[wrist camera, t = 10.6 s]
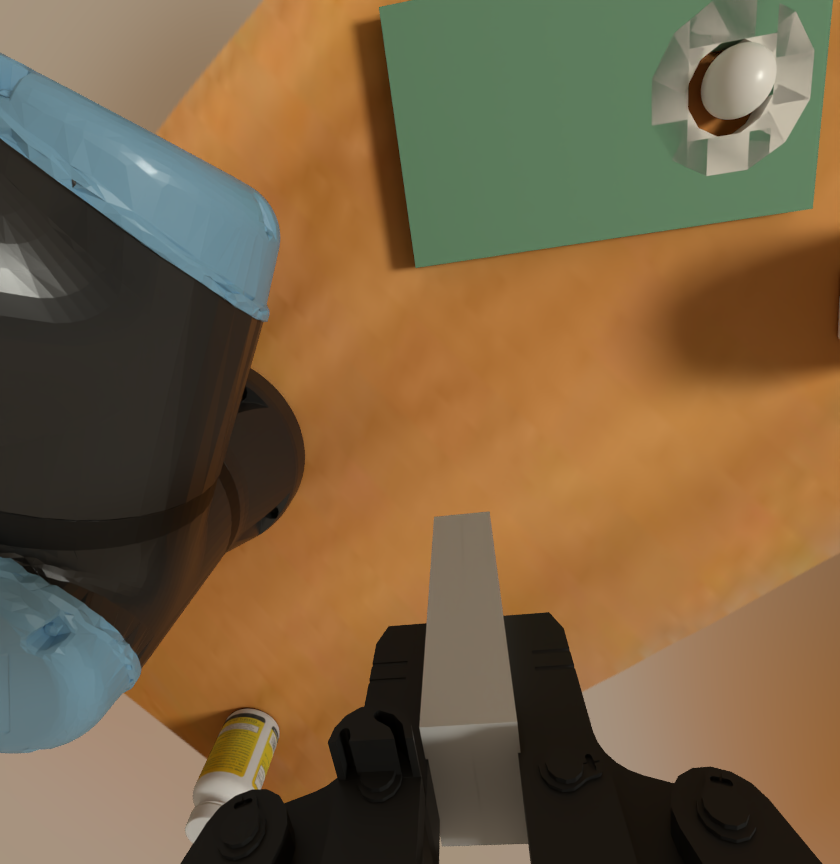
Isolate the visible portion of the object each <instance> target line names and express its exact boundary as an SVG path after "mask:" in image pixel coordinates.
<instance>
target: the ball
mask: <svg viewBox="0 0 840 864" xmlns="http://www.w3.org/2000/svg"><path fill="white" fill-rule="evenodd" d="M776 71H777V68H776V61H775V58H774V56H773V54H772V52H771V51H770V50H769V49H768V48H767V47H765V46H764V45H762V44H759V43H756V42H744V43H739V44H736V45H734V46H731V47H730V48H728V49H726V50H725V51H723V52H722V53H721V54H720V55H718V56H717V57H716V58H715V60H714V61H713V62H712V63H711V64H710V66H709V68H708V69H707V71H706V73H705V75H704V78H703V81H702V85H701V99H702V102H703V105H704V107H705V109H706V110H707V111H708V112H709V113H710V114H711V115H713V116H714V117H716V118H719V119H724V120H732V119H737V118H741V117H743V116H746V115H748V114H749V113H751V112H752V111H754V110H755V109H756V108H758V107H759V106H760V105H761V104H762V103H763V102H764V100H765V99H766V98H767V97H768V95H769V93H770V92H771V90H772V88H773V85H774V82H775V79H776Z"/></svg>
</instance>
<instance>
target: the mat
mask: <svg viewBox="0 0 840 864" xmlns="http://www.w3.org/2000/svg"><path fill="white" fill-rule="evenodd" d="M832 4H833V0H412V1H407V2H402V3H397V4H392V5H387V6H382V7H379V11H380V18H381V25H382V33H383V40H384V47H385V54H386V61H387V68H388V75H389V82H390V89H391V96H392V104H393V111H394V118H395V125H396V132H397V139H398V146H399V153H400V160H401V167H402V175H403V182H404V189H405V196H406V203H407V210H408V217H409V224H410V231H411V238H412V246H413V253H414V260H415V267H416V268H418V267H425V266H432V265H438V264H445V263H452V262H458V261H465V260H472V259H478V258H485V257H492V256H498V255H505V254H512V253H519V252H525V251H532V250H539V249H545V248H552V247H559V246H565V245H572V244H579V243H585V242H592V241H599V240H605V239H612V238H619V237H626V236H632V235H639V234H646V233H652V232H659V231H666V230H672V229H679V228H686V227H692V226H699V225H706V224H713V223H719V222H726V221H733V220H739V219H746V218H753V217H759V216H766V215H773V214H779V213H786V212H793V211H800V210H806V209H813V199H814V189H815V179H816V169H817V158H818V148H819V138H820V128H821V117H822V107H823V97H824V87H825V76H826V66H827V56H828V45H829V35H830V25H831V15H832ZM744 42H756V43H759V44H762V45H764V46H765V47H767V48H768V49H769V50H770V51H771V52H772V54H773V56H774V58H775V61H776V68H777V71H776V79H775V82H774V85H773V88H772V90H771V92H770V93H769V95H768V97H767V98H766V99H765V100H764V102H763V103H762V104H761V105H760V106H759V107H758V108H756V109H755V110H754V111H752V113H751V115H750V116H749V118H748V120H747V122H746V124H744V125H743V126H742V127H740V128H739V129H738V130H736V131H735V132H734V133H733V134H731V135H725V136H719V137H717V136H715V135H713V134H710V133H708V132H706V131H704V130H702V129H700V128H698V126H697V124H696V123H695V121H694V119H693V117H692V115H691V114H690V112H689V110H688V84H689V82H690V80H691V78H692V76H693V74H694V72H695V70H696V68H697V66H698V64H699V62H700V60H701V59H702V58H703V57H705V56H706V55H707V54H708V53H710V52H716V51H721V50H726V49H728V48H730V47H731V46H734V45H736V44H739V43H744Z"/></svg>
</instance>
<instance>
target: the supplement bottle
mask: <svg viewBox="0 0 840 864" xmlns="http://www.w3.org/2000/svg"><path fill="white" fill-rule="evenodd" d="M278 739H279V727H278V725H277V723H276V722H275V720H274V719H273V718H272V717H271V716H269V715H268V714H266V713H264V712H262V711H260V710H256V709H250V708H247V709H240V710H237V711H235V712H234V713H232V714H231V715H230V716H229V717H228V718H227V720H226V721H225V723H224V725H223V727H222V729H221V731H220V734H219V736H218V738H217V740H216V742H215V744H214V746H213V748H212V751H211V753H210V755H209V757H208V759H207V761H206V763H205V766H204V768H203V770H202V772H201V774H200V776H199V779H198V780H197V783H196V785H195V788H194V791H193V802H194V805H195V808H194V809H193V811H192V812H191V815H190V818H189V820H188V822H187V824H186V827H185V833H186V836H187V837H188V839H189V840H190V841H191V842H192V843H194V842H195V840H196V839H197V837H198V835H199V834H200V832H201V831H202V829H203V828H204V826H205V825H206V823H207V822H208V821H209V819H210V818H211V817H212V816H213V815H214V813H215V812H216V811H217V810H218V809H219V807H221V806H222V805H223V804H225V803H226V802H227V801H229V800H230V799H232V798H233V797H234V796H236V795H239V794H241V793H244V792H247V791H249V790H252V789H261V788H262V785H263V782H264V779H265V776H266V774H267V771H268V768H269V765H270V762H271V759H272V757H273V754H274V751H275V748H276V745H277V742H278Z"/></svg>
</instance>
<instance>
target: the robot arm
mask: <svg viewBox="0 0 840 864" xmlns="http://www.w3.org/2000/svg"><path fill="white" fill-rule="evenodd" d="M279 246H280V229H279V224H278V221H277V218H276V215H275V213H274V211H273V209H272V208H271V206H270V205H269V203H268V202H267V200H266V199H265V198H264V197H263V196H262V195H261V194H260V193H259V192H258V191H256V190H255V189H253V188H252V187H250V186H249V185H247V184H245V183H244V182H242V181H240V180H238V179H237V178H235V177H233V176H231V175H229V174H227V173H226V172H224V171H222V170H220V169H218V168H216V167H215V166H213V165H211V164H209V163H207V162H205V161H204V160H202V159H200V158H198V157H196V156H194V155H192V154H191V153H189V152H187V151H185V150H183V149H181V148H179V147H178V146H176V145H174V144H172V143H170V142H168V141H166V140H165V139H163V138H161V137H159V136H157V135H155V134H153V133H152V132H150V131H148V130H146V129H144V128H142V127H140V126H139V125H137V124H134V123H133V122H131V121H129V120H127V119H125V118H123V117H121V116H119V115H118V114H116V113H114V112H112V111H110V110H108V109H106V108H104V107H102V106H100V105H99V104H97V103H95V102H93V101H91V100H89V99H88V98H86V97H84V96H82V95H80V94H78V93H76V92H74V91H72V90H71V89H69V88H67V87H65V86H63V85H61V84H59V83H57V82H55V81H53V80H51V79H49V78H48V77H46V76H44V75H42V74H40V73H37V72H36V71H34V70H32V69H31V68H29V67H27V66H25V65H24V64H22V63H19V62H17V61H15V60H13V59H11V58H10V57H8V56H6V55H4V54H2V53H0V753H29V752H33V751H36V750H39V749H52V748H55V747H58V746H61V745H64V744H67V743H69V742H71V741H73V740H75V739H77V738H79V737H80V736H82V735H83V734H85V733H86V732H88V731H89V730H90V729H91V728H92V727H94V726H95V725H96V724H97V723H98V722H99V721H100V720H101V718H102V717H103V716H104V715H105V714H106V712H107V711H108V710H109V709H110V708H111V706H112V705H113V704H114V702H115V701H116V700H117V699H118V698H119V697H120V696H121V694H122V693H124V692H126V691H127V690H130V689H131V688H132V687H133V686H134V684H135V682H136V681H137V680H138V678H139V676H140V674H141V669H142V667H143V666H144V664H145V663H146V662H147V660H148V659H149V658H150V656H151V655H152V653H153V652H154V651H155V649H156V648H157V647H158V645H159V644H160V642H161V641H162V640H163V638H164V637H165V636H166V634H167V633H168V631H169V630H170V629H171V627H172V626H173V625H174V623H175V622H176V620H177V619H178V618H179V616H180V615H181V614H182V612H183V611H184V609H185V608H186V607H187V605H188V604H189V603H190V601H191V600H192V598H193V597H194V596H195V594H196V593H197V592H198V590H199V589H200V587H201V586H202V585H203V583H204V582H205V581H206V579H207V578H208V576H209V575H210V574H211V572H212V571H213V570H214V568H215V567H216V565H217V564H218V563H219V561H220V560H221V558H222V557H223V555H224V554H225V553H226V552H228V551H230V550H232V549H234V548H236V547H238V546H240V545H241V544H243V543H245V542H247V541H249V540H251V539H253V538H255V537H256V536H258V535H260V534H262V533H263V532H264V531H266V530H267V529H268V528H270V527H271V526H272V525H273V524H274V523H275V522H276V521H277V520H278V519H279V518H280V517H281V516H282V514H283V513H284V512H285V510H286V509H287V507H288V506H289V504H290V502H291V501H292V499H293V498H294V496H295V494H296V492H297V490H298V488H299V486H300V483H301V480H302V476H303V472H304V465H305V450H304V442H303V437H302V434H301V430H300V427H299V424H298V422H297V420H296V417H295V415H294V413H293V412H292V410H291V408H290V406H289V405H288V403H287V402H286V400H285V399H284V398H283V396H282V395H281V394H280V393H279V392H278V390H277V389H276V388H275V387H274V386H273V385H272V384H271V383H270V382H268V381H267V380H266V379H265V378H264V377H262V376H261V375H260V374H258V373H257V372H256V371H254V370H253V369H251V368H250V367H251V363H252V360H253V356H254V353H255V349H256V346H257V342H258V339H259V335H260V332H261V328H262V325H263V322H267V321H268V318H269V309H268V307H267V300H268V296H269V291H270V287H271V282H272V278H273V273H274V269H275V264H276V260H277V255H278V251H279ZM328 745H329V748H330V752H331V756H332V759H333V763H334V767H335V770H336V774H337V779H335V780H334V781H333V782H331V783H330V784H329V785H327V786H326V787H324V788H322V789H320V790H318V791H316V792H313V793H311V794H308V795H305V796H303V797H300V798H297V799H295V800H292V801H290V802H287V803H283V801H282V799H281V798H280V796H279V795H277V794H275V793H273V792H271V791H269V790H267V789H252V790H249V791H247V792H244V793H241V794H239V795H236V796H234V797H233V798H232V799H230V800H229V801H227V802H226V803H225V804H223V805H222V806H221V807H219V809H218V810H217V811H216V812H215V813H214V815H213V816H212V817H211V818H210V819H209V821H208V822H207V823H206V825H205V826H204V828H203V829H202V831H201V832H200V834H199V835H198V837H197V839H196V840H195V842H194V843H193V845H192V846H191V848H190V850H189V851H188V853H187V854H186V856H185V857H184V859H183V861H182V862H181V864H439V840H440V837H441V842H442V846H469V845H501V844H529V853H530V861H531V864H822V863H821V862H820V860H819V859H818V858H817V857H816V856H815V854H814V853H813V852H812V851H811V850H810V848H809V847H808V846H807V845H806V844H805V842H804V841H803V840H802V839H801V838H800V836H799V835H798V834H797V833H796V832H795V830H794V829H793V828H792V827H791V825H790V824H789V823H788V822H787V821H786V819H785V818H784V817H783V816H782V815H781V813H780V812H779V811H778V810H777V809H776V807H775V806H774V805H773V804H772V803H771V801H770V800H769V799H768V798H767V797H766V796H765V795H764V794H762V793H761V792H760V791H759V790H758V789H757V788H756V787H755V786H754V785H753V784H752V783H750V782H748V781H746V780H745V779H743V778H741V777H739V776H738V775H736V774H734V773H732V772H730V771H726V770H721V769H718V768H714V767H700V768H692V769H690V770H688V771H686V772H685V773H683V774H681V775H679V776H678V778H677V780H676V782H675V783H670V782H666V781H663V780H659V779H655V778H651V777H647V776H643V775H641V774H638V773H635V772H633V771H630V770H628V769H626V768H625V767H623V766H621V765H620V764H618V763H616V762H615V761H614V760H613V759H612V758H611V757H610V756H608V755H607V754H606V753H605V752H604V750H603V749H602V748H601V746H600V745H599V743H598V742H597V740H596V737H595V735H594V733H593V730H592V727H591V723H590V720H589V716H588V713H587V709H586V706H585V702H584V699H583V695H582V692H581V688H580V684H579V681H578V677H577V674H576V670H575V669H574V663H573V660H572V656H571V653H570V651H569V646H568V642H567V639H566V635H565V632H564V628H563V627H562V626H561V625H560V624H559V623H558V622H557V621H556V620H555V618H554V617H553V616H552V615H551V614H550V613H549V612H548V613H535V614H522V615H509V616H503V611H502V603H501V595H500V588H499V580H498V573H497V565H496V558H495V550H494V543H493V535H492V527H491V520H490V512H480V513H470V514H460V515H450V516H439V517H434V527H433V541H432V556H431V570H430V584H429V598H428V612H427V623H426V624H413V625H400V626H389V627H388V628H387V630H386V631H385V632H384V634H383V635H382V637H381V638H380V640H379V641H378V642H377V644H376V649H375V654H374V659H373V667H372V670H371V675H370V684H369V685H368V690H367V696H366V701H365V706H364V707H361V708H359V709H357V710H355V711H354V712H352V713H350V714H348V715H347V716H345V717H344V718H343V719H342V721H341V722H340V723H339V724H338V725H337V726H336V727H335V728H334V730H333V732H332V735H331V737H330V739H329V741H328Z"/></svg>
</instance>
